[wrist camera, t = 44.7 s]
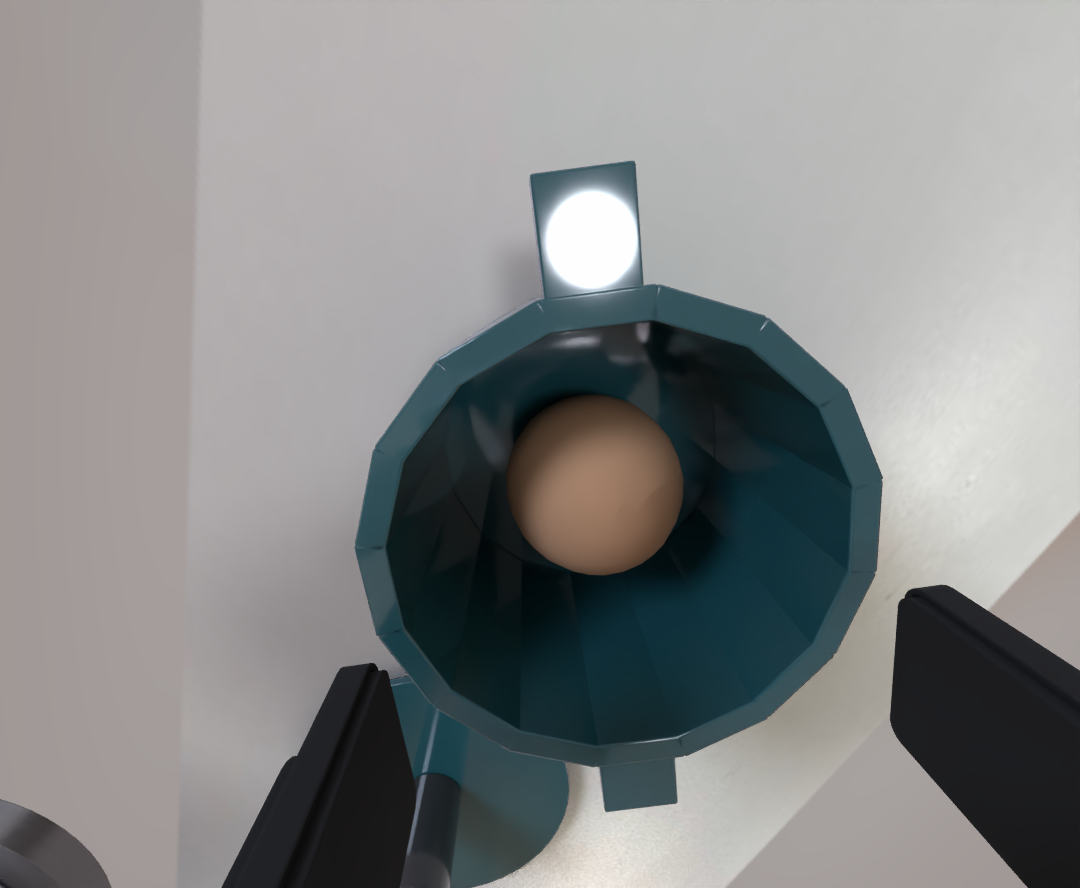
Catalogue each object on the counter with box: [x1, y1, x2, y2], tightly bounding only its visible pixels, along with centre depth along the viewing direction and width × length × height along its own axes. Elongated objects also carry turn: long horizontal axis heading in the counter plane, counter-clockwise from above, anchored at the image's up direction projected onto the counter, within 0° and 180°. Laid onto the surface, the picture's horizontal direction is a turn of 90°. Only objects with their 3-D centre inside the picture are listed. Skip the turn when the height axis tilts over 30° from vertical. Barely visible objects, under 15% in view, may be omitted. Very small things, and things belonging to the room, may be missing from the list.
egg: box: [506, 394, 684, 575], centre depth 19 cm, size 6×6×8 cm
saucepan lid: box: [390, 676, 569, 888], centre depth 25 cm, size 15×15×7 cm
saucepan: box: [355, 161, 883, 812], centre depth 18 cm, size 14×19×10 cm
